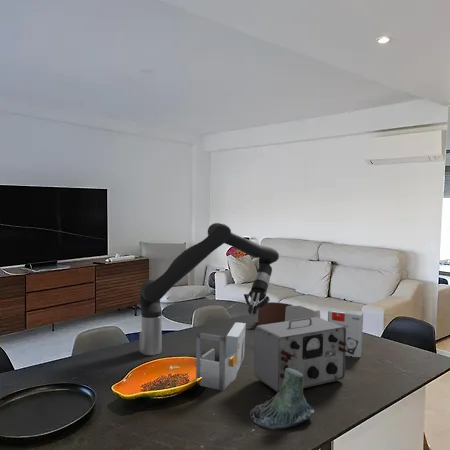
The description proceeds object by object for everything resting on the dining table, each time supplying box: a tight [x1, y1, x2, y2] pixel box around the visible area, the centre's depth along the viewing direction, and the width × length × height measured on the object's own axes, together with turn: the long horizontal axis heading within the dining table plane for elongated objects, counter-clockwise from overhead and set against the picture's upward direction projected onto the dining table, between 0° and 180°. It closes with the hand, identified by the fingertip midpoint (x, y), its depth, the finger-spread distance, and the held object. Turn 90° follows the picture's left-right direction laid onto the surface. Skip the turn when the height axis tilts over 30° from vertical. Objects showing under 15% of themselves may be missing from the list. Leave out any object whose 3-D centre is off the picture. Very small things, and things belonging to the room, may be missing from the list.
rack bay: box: [195, 331, 238, 391], centre depth 167 cm, size 12×13×20 cm
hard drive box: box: [327, 307, 364, 359], centre depth 200 cm, size 16×8×20 cm, turn 68°
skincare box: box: [225, 321, 247, 375], centre depth 184 cm, size 21×6×16 cm, turn 168°
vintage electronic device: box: [253, 317, 346, 392], centre depth 167 cm, size 32×18×25 cm, turn 117°
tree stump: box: [249, 368, 315, 430], centre depth 141 cm, size 18×20×18 cm
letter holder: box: [257, 301, 294, 326], centre depth 245 cm, size 10×20×14 cm, turn 80°
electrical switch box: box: [285, 305, 321, 321], centre depth 215 cm, size 15×15×20 cm
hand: (251, 313), depth 201 cm, fingers closed
